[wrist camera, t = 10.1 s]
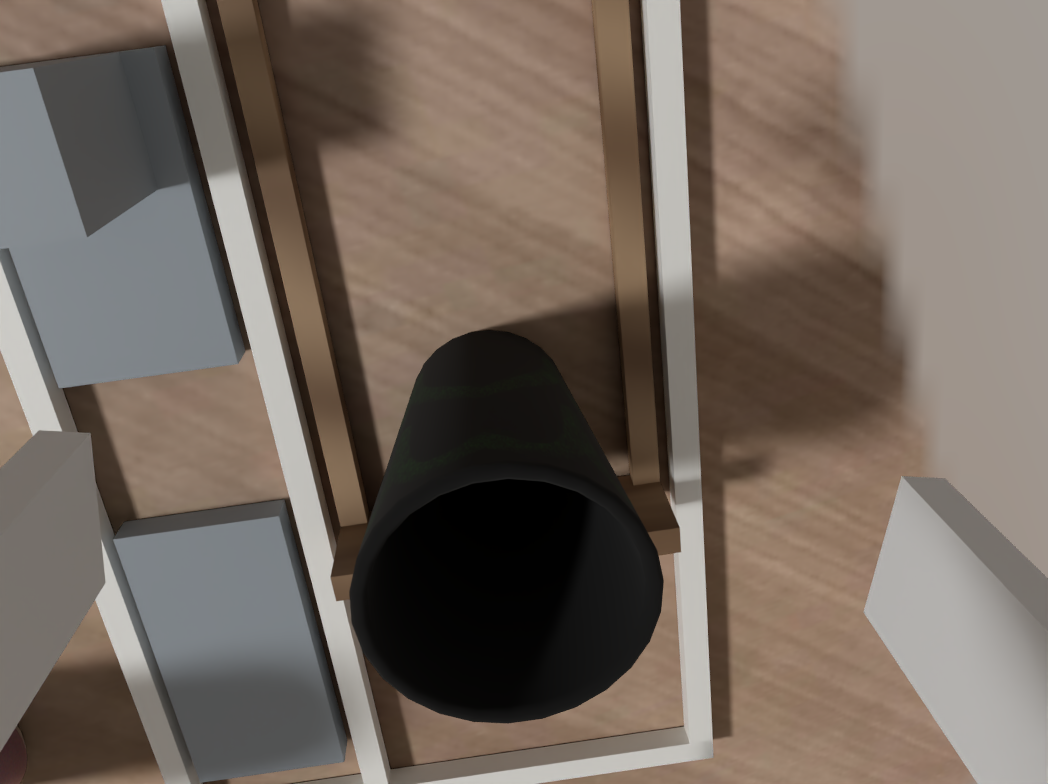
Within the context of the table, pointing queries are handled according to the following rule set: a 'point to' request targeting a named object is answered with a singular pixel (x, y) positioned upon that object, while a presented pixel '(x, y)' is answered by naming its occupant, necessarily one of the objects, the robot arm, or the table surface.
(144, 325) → the grey l-shaped sled
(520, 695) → the cup
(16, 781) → the beverage can
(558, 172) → the table surface
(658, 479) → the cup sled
